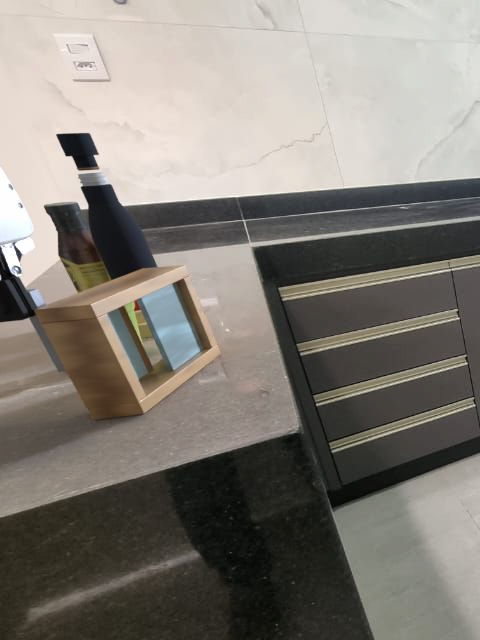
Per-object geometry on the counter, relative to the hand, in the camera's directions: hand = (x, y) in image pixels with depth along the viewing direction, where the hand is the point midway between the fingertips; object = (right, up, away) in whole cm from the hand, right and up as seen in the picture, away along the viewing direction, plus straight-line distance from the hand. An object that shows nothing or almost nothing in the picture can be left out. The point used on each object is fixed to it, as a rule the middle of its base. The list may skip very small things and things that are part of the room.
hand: (15, 318), depth 53 cm
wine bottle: (-24, +3, +41) cm, 47 cm away
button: (-18, +4, +32) cm, 37 cm away
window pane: (+1, -7, +10) cm, 12 cm away
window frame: (+3, -7, +14) cm, 16 cm away
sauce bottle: (-31, +3, +41) cm, 52 cm away
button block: (-18, +1, +33) cm, 38 cm away
